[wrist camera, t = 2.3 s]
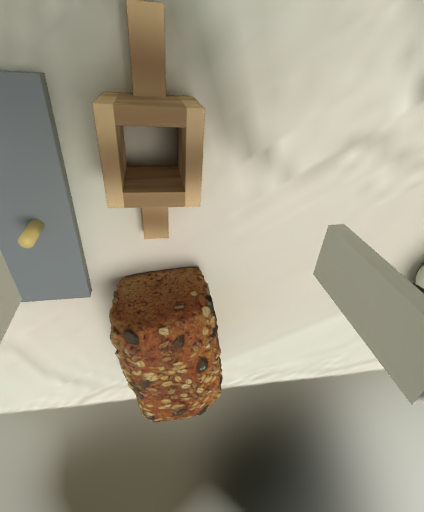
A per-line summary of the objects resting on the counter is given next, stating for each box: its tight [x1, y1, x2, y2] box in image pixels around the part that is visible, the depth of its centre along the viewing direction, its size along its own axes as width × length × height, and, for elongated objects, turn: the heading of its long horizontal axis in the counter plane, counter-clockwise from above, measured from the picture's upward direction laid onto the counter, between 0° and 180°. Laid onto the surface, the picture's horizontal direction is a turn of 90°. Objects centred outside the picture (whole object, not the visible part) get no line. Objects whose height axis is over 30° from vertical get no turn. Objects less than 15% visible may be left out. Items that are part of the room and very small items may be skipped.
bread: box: [109, 268, 222, 422], centre depth 35 cm, size 19×11×10 cm, turn 3°
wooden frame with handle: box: [92, 0, 205, 239], centre depth 23 cm, size 18×7×6 cm, turn 176°
